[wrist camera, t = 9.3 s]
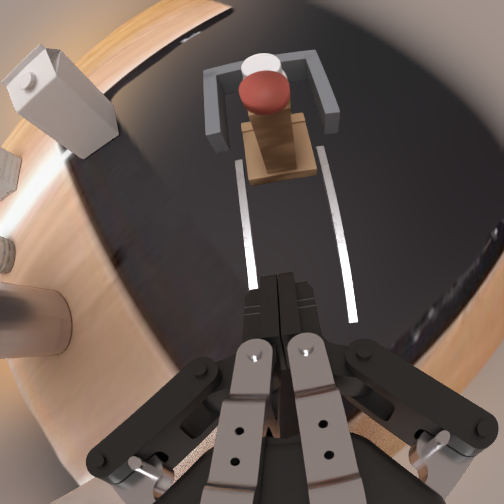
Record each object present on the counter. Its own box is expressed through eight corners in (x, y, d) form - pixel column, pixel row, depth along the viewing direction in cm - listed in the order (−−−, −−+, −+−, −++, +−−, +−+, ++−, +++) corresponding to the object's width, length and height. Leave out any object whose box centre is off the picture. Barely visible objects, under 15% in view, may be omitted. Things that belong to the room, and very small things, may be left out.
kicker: (251, 185, 31) (217, 115, 18) (244, 131, 32) (212, 54, 20) (316, 175, 30) (318, 96, 17) (303, 121, 31) (296, 38, 19)
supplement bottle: (278, 93, 33) (269, 45, 25) (299, 116, 32) (294, 67, 24) (245, 110, 33) (229, 63, 25) (265, 134, 32) (251, 87, 24)
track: (256, 335, 28) (255, 336, 27) (236, 164, 32) (234, 160, 31) (356, 321, 26) (357, 321, 26) (323, 149, 30) (323, 145, 30)
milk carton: (81, 130, 39) (6, 68, 21) (114, 106, 38) (44, 32, 20) (83, 160, 37) (-5, 98, 19) (120, 135, 36) (36, 56, 18)
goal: (216, 153, 33) (205, 135, 29) (212, 89, 35) (203, 70, 31) (337, 132, 30) (340, 112, 27) (316, 70, 33) (315, 49, 29)
